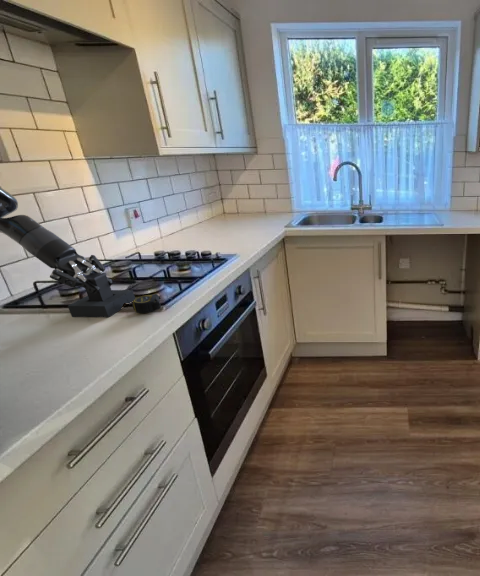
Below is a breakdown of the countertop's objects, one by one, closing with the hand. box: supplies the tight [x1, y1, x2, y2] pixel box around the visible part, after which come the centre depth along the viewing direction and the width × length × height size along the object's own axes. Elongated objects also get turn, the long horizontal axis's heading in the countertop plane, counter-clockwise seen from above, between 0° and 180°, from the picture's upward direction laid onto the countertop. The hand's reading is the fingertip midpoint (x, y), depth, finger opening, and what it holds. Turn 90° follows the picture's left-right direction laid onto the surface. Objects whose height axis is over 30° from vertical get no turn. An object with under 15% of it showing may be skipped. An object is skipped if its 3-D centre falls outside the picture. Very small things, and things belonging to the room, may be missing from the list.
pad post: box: [83, 272, 113, 302], centre depth 104 cm, size 4×4×9 cm
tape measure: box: [131, 293, 161, 314], centre depth 104 cm, size 7×7×4 cm
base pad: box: [67, 289, 136, 318], centre depth 106 cm, size 11×11×4 cm
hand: (104, 288), depth 104 cm, fingers closed on pad post, 4 cm apart
